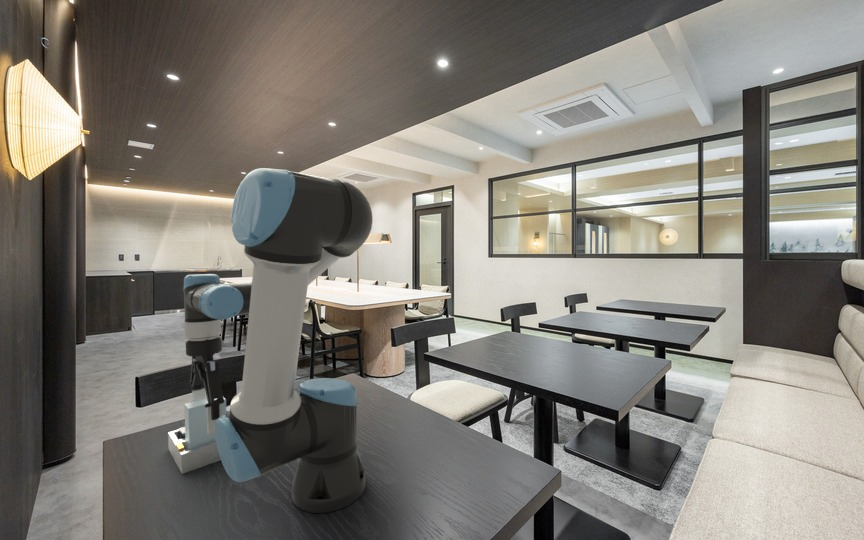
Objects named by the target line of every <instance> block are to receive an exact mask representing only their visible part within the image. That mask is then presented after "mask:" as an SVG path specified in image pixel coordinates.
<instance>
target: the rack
mask: <svg viewBox="0 0 864 540" xmlns="http://www.w3.org/2000/svg"><path fill="white" fill-rule="evenodd" d="M167 436H168V437H167V438H168V439H167V443H168V451H169V453H170V455H171V457H172V458H173V461H174V462H175V464H176V466H177V467H178V469H179V472H180V473H181V475H182V474H185V473H189V472H191V471H194V470H197V469H200V468H203V467H205V466H207V465H211V464H213V463H216V462H217V463H218V462H219V461H221V458H220V455H219V452H218V448H217V444H216V442H213V443H210V444H207V445H204V446H201V447H198V448H195V449H191V450H188V451H186V441H185V426H182V427H179V428H178V429H176V430H172V431H168V432H167Z"/></svg>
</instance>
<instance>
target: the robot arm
mask: <svg viewBox="0 0 864 540" xmlns="http://www.w3.org/2000/svg"><path fill="white" fill-rule="evenodd" d="M230 222H231V223H232V227H231V229H232V230H231V231H232V235H233V237H234V239H235V240H236V241H237V243H239V244H240V245H243V246H244V248H243V249H244V250H243V254H244V255H245V256H246V257H247V258H248V259H249V260H250V261H251V262H252V264H253V269H252V279H251V282H234V283H232V282H231V283H221V279H220V278H221V277H220V276H219V275H218V274H216V273H206V274H205V273H204V274H203V273H202V274H199V273H198V274H187V275H186V276H184V278H183V289H182V291H183V302H184V303H183V304H184V305H183V307H184V337H185V338H186V340H185V355H186V356H188V357H191V365H190V366H191V368H190V377H189V386H190V388H191V398H192V401H191V402H194V401H198V400H202V399H206V398H207V401H208V404H206V405H205V408H207V431H208V434H212V433H215V439H216V444H217V448H218V452H219V455H220V458H221V460H220V461H221V464H222V466H223V468H224V470H225V472H226V474H227V476H228V477H229V478H230V479H231V480H232V481H234V482H236V483H244V482H247V481H250V480H253V479H256V478H260V477H262V476H263V475H265V474H267V473H269V472H272V471H274V470H276V469H278V468H280V467H283V466H285V465H287V464H289V463H292V462H293V461H296V460H298V459H299V461H298V463H297V464H298V465H297V467H296V470H295V474H294V477H293V480H292V483H291V501H292V503H293V504H294V505H295V506H296V507H297V509H299V510H301V511H304V512H307V513H313V514H323V513H324V514H325V513H331V512H336V511H339V510H341V509H344V508H346V507H349V506H350V505H351V504H353V503H355V502H356V501H357V500H358V499H359V498H360V497H361V496H362V495H363V493H364V491H365V489H366V471H365V469H364V466H363V463H362V460H361V457H360V455H359V452H358V446H357V444H358V442H357V441H358V438H357V437H358V434H357V433H358V430H357V429H358V428H357V427H358V426H357V425H358V424H357V406H358V400H357V391H356V388H355V386H354V384H352V383H351V382H349V381H347V380H344V379H339V378H333V377H331V378H330V377H328V378H327V377H321V378H320V377H319V378H310V379H306V380H304V381H303V382H301V383H299V386H298V388H297V391H296V390H295V385H296V377H297V368H298V362H299V355H300V353H299V352H300V346H301V338H302V331H303V323H304V317H305V308H306V300H307V294H308V288H309V287H308V286H309V285H310V284H312V283H313V282H314V281H315V280H316V279H317V278H319V276H322V274H323V273H324V272H326V270H327V269H329V268H330V267H331V266H332V265H333V264H335V263H336V262H337V261H338V260H339V259H341V258H342V259H344V258H349V257H350V256H352V255H353V254H354V253H355V252H357V251H358V249H360V248H361V247H362V246H363V245H364V244H365V242H366V241H367V239H368V237H369V236H370V234H371V231H372V227H373V211H372V207H371V205H370V202H369V201H368V199H367V197H366V195H364V193H363V192H362V190H360V189H359V188H358V187H356V186H355V185H353V184H351V183H349V182H348V181H346V180H345V181H344V180H341V179H336V178H334V179H333V178H327V177H322V176H317V175H311V174H307V173H302V172H296V171H290V170H288V169H278V168H269V167H268V168H265V167H260V168H255V169H253V170H251V171H250V172H249V173H247V174H246V175H245V176H244V178H243V180H242V181H240V184H239V186H238V187H237V190H236V192H235V195H234V198H233V203H232V208H231V217H230ZM244 315H248V317H247V318H248V319H247V330H246V331H247V332H246V341H245V350H244V361H243V372H242V382H241V383H242V384H241V390H240V391H239V392H237V393H236V394H235V395H234V396H233V397H232V399H231V401H230V414H229V415H223V416H222V417H221V404H222V403H224V399H223V397H224V394H223V387H222V382H221V381H222V380H221V376H220V375H221V374H220V367H219V366H220V365H219V364H220V363H219V360H215V359H214V355H215V354H219V353H220V352H222V350H223V341H222V340H223V339H222V336H220V335H221V334H222V326H223V325H224V321H222V320H228V319H232V318H234V317H235V316H244ZM216 398H217V399H216ZM214 399H216V400H214Z"/></svg>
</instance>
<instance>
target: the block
mask: <svg viewBox="0 0 864 540" xmlns="http://www.w3.org/2000/svg"><path fill="white" fill-rule="evenodd" d="M216 399H217V398H216ZM216 399H214V400H216ZM223 399H224V403H222V404H221V417H222V416H223V415H226V407H227V399H226V398H225V397H224V396H223ZM206 404H208V401H207V397H205V399H202V400H198V401H194V402H192V401H190V402H186V403H184V405H183V406H184V407H183V408H184V427H185V441H186V451H188V450H191V449H195V448H198V447H201V446H204V445H207V444H210V443H213V442H216V439H215V433H212V434H208V431H207V408H205V405H206Z"/></svg>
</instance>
